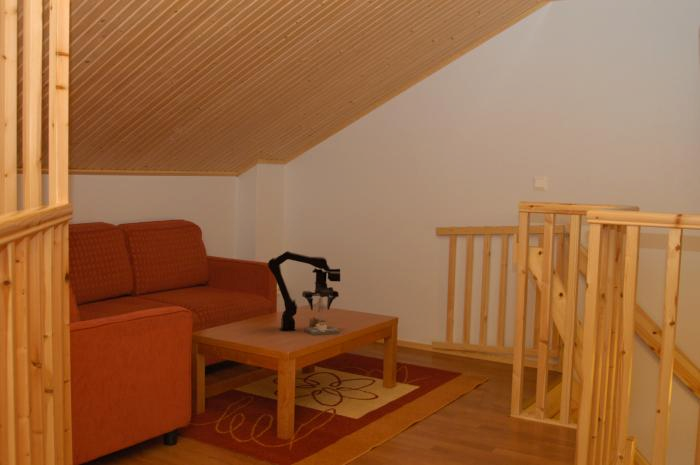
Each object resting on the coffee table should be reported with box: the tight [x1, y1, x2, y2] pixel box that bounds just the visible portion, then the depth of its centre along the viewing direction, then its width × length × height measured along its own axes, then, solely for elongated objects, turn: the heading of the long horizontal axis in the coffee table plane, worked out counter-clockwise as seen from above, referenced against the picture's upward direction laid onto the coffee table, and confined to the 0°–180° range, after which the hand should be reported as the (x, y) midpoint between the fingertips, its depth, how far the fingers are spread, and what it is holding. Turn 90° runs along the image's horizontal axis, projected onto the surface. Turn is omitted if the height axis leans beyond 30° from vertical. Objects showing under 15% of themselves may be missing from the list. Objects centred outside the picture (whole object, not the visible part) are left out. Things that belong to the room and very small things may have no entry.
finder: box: [316, 322, 328, 331], centre depth 409 cm, size 4×5×3 cm
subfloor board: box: [304, 325, 341, 336], centre depth 413 cm, size 15×12×2 cm
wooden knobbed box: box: [309, 316, 319, 327], centre depth 422 cm, size 4×4×6 cm
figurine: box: [313, 296, 327, 322], centre depth 440 cm, size 11×4×15 cm, turn 61°
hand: (320, 310), depth 416 cm, fingers open, 9 cm apart
